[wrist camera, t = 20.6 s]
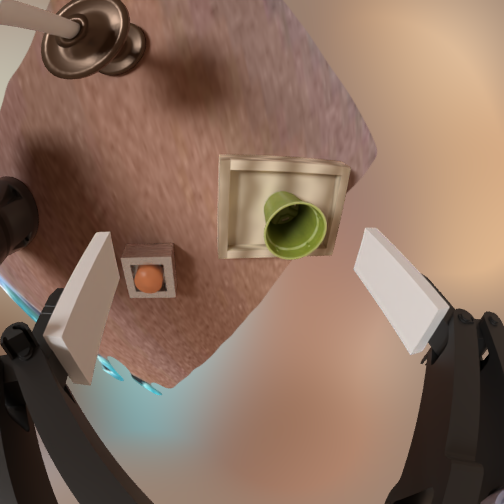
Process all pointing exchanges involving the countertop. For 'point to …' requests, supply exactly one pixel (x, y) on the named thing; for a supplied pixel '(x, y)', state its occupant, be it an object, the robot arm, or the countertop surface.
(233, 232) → the tray
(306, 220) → the plant pot
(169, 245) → the button housing
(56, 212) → the countertop surface
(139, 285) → the button
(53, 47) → the candlestick
